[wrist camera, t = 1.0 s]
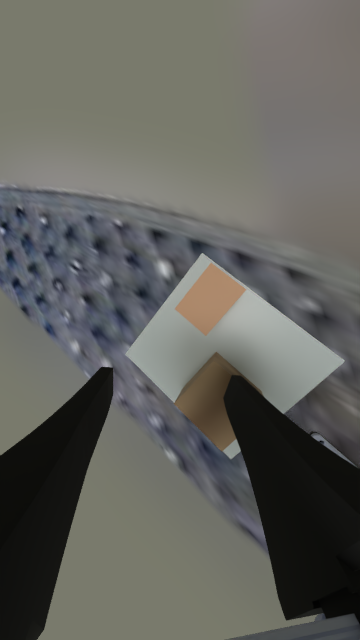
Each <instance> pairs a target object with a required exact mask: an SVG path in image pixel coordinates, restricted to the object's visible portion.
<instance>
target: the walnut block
mask: <svg viewBox="0 0 360 640" xmlns="http://www.w3.org/2000/svg"><path fill="white" fill-rule="evenodd" d="M232 375H241V376H242V377H243V378H244V379H245V380H247V381H248V382H249V383H250V384H251V385H252V386H253V387H254V388H255V389H256V390H257V391H258V392H259V393H260V394H262V391H261V390H260V389H259V388H257V387H256V386H255V385H254V384H253V383H252V382H251V381H249V380H248V379H247V378H246V377H245V376H244V375H243V374H241V373H240V372H239V371H238V370H237V369H236V368H235V367H233V366H232V365H231V364H230V363H229V362H228V361H227V360H225V359H224V358H223V357H222V356H221V355H220V354H218V353H217V352H215V353H214V355H213V356H212V357H211V358H210V359H209V360H208V361H207V362H206V363H205V364H204V365H203V367H202V368H201V369H200V370H199V371H198V372H197V373H196V374H195V375H194V376H193V377H192V379H191V380H190V381H189V382H188V383H187V384H186V385H185V386H184V387H183V389H182V390H181V392H180V394H179V396H178V397H177V399H176V401H175V403H174V404H175V405H176V406H177V407H178V408H179V409H180V410H181V411H182V412H183V413H184V414H185V415H186V416H187V417H188V418H189V419H190V420H191V421H192V422H193V423H194V424H195V425H196V426H197V427H198V428H199V429H200V430H201V431H202V432H203V433H204V434H205V435H206V436H207V437H208V438H209V439H210V440H211V441H212V442H213V443H214V444H215V445H216V446H217V447H218V448H219V449H220V450H221V451H223V450H224V449H225V448H227V447H228V446H229V445H230V444H231V443H232V442H233V441H234V440H236V437H235V434H234V431H233V429H232V426H231V424H230V421H229V418H228V415H227V412H226V408H225V404H224V400H223V397H224V394H225V392H226V389H227V386H228V384H229V381H230V378H231V376H232ZM262 395H263V394H262Z"/></svg>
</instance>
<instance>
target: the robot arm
mask: <svg viewBox="0 0 360 640" xmlns="http://www.w3.org/2000/svg"><path fill="white" fill-rule="evenodd" d="M112 396H113V368H111V367H101V368H100V369H99V370H98V371H97V372H96V373H95V374H94V375H93V376H92V377H91V379H90V380H89V381H88V382H87V383H86V384H85V385H84V386H83V387H82V388H81V389H80V390H79V391H78V392H77V393H76V394H75V395H74V396H73V397H72V398H71V399H70V400H69V401H67V402H66V403H65V404H64V405H63V406H62V407H61V408H60V409H58V410H57V411H56V412H55V413H54V414H53V415H52V416H51V417H49V418H48V419H47V420H46V421H45V422H43V423H42V424H41V425H40V426H38V427H37V428H36V429H35V430H34V431H32V432H31V433H30V434H28V435H27V436H26V437H25V438H23V439H22V440H21V441H19V442H18V443H17V444H15V445H14V446H13V447H11V448H10V449H9V450H7V451H6V452H5V453H4V454H2V455H0V640H37V639H38V637H39V636H40V634H41V633H42V632H43V630H44V627H45V623H46V619H47V615H48V611H49V607H50V604H51V600H52V596H53V592H54V588H55V584H56V580H57V577H58V573H59V569H60V565H61V561H62V557H63V554H64V550H65V547H66V543H67V539H68V535H69V532H70V528H71V524H72V521H73V517H74V514H75V510H76V507H77V503H78V500H79V496H80V493H81V489H82V486H83V482H84V479H85V475H86V472H87V469H88V466H89V463H90V460H91V457H92V455H93V452H94V449H95V447H96V444H97V441H98V438H99V436H100V433H101V431H102V427H103V425H104V423H105V420H106V417H107V414H108V411H109V408H110V404H111V400H112ZM223 400H224V404H225V408H226V412H227V415H228V418H229V421H230V424H231V426H232V429H233V431H234V434H235V437H236V439H237V442H238V445H239V447H240V450H241V452H242V455H243V458H244V461H245V464H246V467H247V470H248V473H249V477H250V480H251V484H252V487H253V491H254V495H255V498H256V502H257V506H258V509H259V513H260V517H261V521H262V526H263V530H264V534H265V538H266V542H267V546H268V551H269V556H270V560H271V565H272V569H273V574H274V578H275V584H276V589H277V594H278V598H279V601H280V604H281V607H282V610H283V613H284V616H285V619H286V620H291V619H296V618H301V617H306V616H311V615H316V614H319V615H317V617H316V618H315V621H314V622H310V623H305V624H300V625H295V626H290V627H285V628H280V629H275V630H270V631H266V632H261V633H256V634H251V635H246V636H241V637H236V638H231V639H227V640H360V469H359V468H358V467H357V466H356V465H354V464H353V463H352V462H351V461H350V460H349V459H347V458H346V457H345V456H344V455H343V454H342V453H341V452H339V451H338V450H337V449H336V448H335V447H334V446H332V445H331V444H330V443H329V442H328V441H327V440H325V439H324V438H323V437H322V436H321V435H320V434H318V433H313V434H311V435H309V434H308V433H306V432H305V431H304V430H303V429H301V428H300V427H299V426H297V425H296V424H295V423H294V422H292V421H291V420H290V419H289V418H288V417H286V416H285V415H284V414H283V413H282V412H280V411H279V410H278V409H277V408H276V407H275V406H274V405H272V404H271V403H270V402H269V401H268V400H267V399H266V398H265V397H264V396H263V395H262V394H260V393H259V392H258V391H257V390H256V389H255V388H254V387H253V386H252V385H251V384H250V383H249V382H248V381H247V380H245V379H244V378H243V377H242V376H241V375H232V376H231V378H230V381H229V384H228V386H227V389H226V392H225V394H224V397H223ZM320 440H322V442H319V441H320ZM322 613H323V614H322Z"/></svg>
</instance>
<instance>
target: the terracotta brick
mask: <svg viewBox="0 0 360 640" xmlns="http://www.w3.org/2000/svg"><path fill="white" fill-rule="evenodd" d="M245 291H246V289H245V288H244V287H242V286H241V285H240V284H238V283H237V282H236V281H235V280H233V279H232V278H231V277H229V276H228V275H227V274H225V273H224V272H223V271H221V270H220V269H219V268H217V267H216V266H215V265H213V264H212V263H210V264H209V266H208V267H207V268H206V270H205V271H204V272H203V273H202V275H201V276H200V277H199V278H198V280H197V281H196V282H195V284H194V285H193V286H192V287H191V289H190V290H189V291H188V292H187V294H186V295H185V296H184V298H183V299H182V300H181V301H180V303H179V304H178V305H177V306H176V308H175V310H176V311H178V312H179V313H180V314H181V315H182V316H183V317H185V318H186V319H187V320H188V321H189V322H190V323H191V324H193V325H194V326H195V327H196V328H197V329H198V330H200V331H201V332H202V333H203V334H204V335H205V336H206V335H207V334H208V333H209V332H210V331H211V330H212V329H213V327H214V326H215V325H216V324H217V323H218V322H219V321H220V319H221V318H222V317H223V316H224V315H225V314H226V313H227V311H228V310H229V309H230V308H231V307H232V306H233V305H234V303H235V302H236V301H237V300H238V299H239V298H240V297H241V295H242V294H243V293H244V292H245Z"/></svg>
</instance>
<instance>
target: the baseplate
mask: <svg viewBox="0 0 360 640" xmlns="http://www.w3.org/2000/svg"><path fill="white" fill-rule="evenodd" d="M210 263H212V264H213V265H215V266H216V267H217V268H219V269H220V270H221V271H223V272H224V273H225V274H227V275H228V276H229V277H231V278H232V279H233V280H235V281H236V282H237V283H238V284H240V285H241V286H242V287H244V288H245V289H246V291H245V292H244V293H243V294H242V295H241V297H240V298H239V299H238V300H237V301H236V302H235V303H234V305H233V306H232V307H231V308H230V309H229V310H228V311H227V313H226V314H225V315H224V316H223V317H222V318H221V319H220V321H219V322H218V323H217V324H216V325H215V326H214V327H213V329H212V330H211V331H210V332H209V333H208V334H207V335H206V336H205V335H204V334H203V333H202V332H201V331H200V330H198V329H197V328H196V327H195V326H194V325H193V324H191V323H190V322H189V321H188V320H187V319H186V318H185V317H183V316H182V315H181V314H180V313H179V312H178V311H176V310H175V308H176V306H177V305H178V304H179V303H180V301H181V300H182V299H183V298H184V296H185V295H186V294H187V292H188V291H189V290H190V289H191V287H192V286H193V285H194V284H195V282H196V281H197V280H198V278H199V277H200V276H201V275H202V273H203V272H204V271H205V270H206V268H207V267H208V266H209V264H210ZM215 352H217V353H218V354H220V355H221V356H222V357H223V358H224V359H225V360H227V361H228V362H229V363H230V364H231V365H232V366H233V367H235V368H236V369H237V370H238V371H239V372H240V373H241V374H243V375H244V376H245V377H246V378H247V379H248V380H249V381H251V382H252V383H253V384H254V385H255V386H256V387H257V388H259V389H260V390H261V391H262V394H263V396H264V397H265V398H266V399H267V400H268V401H269V402H270V403H271V404H272V405H274V406H275V407H276V408H277V409H278V410H279V411H280V412H282V413H283V414H284V413H285V412H287V411H288V410H289V409H290V408H291V407H292V406H294V405H295V404H296V403H297V402H298V401H299V400H301V399H302V398H303V397H304V396H305V395H306V394H308V393H309V392H310V391H311V390H312V389H313V388H314V387H316V386H317V385H318V384H319V383H320V382H321V381H323V380H324V379H325V378H326V377H327V376H328V375H330V374H331V373H332V372H333V371H334V370H335V369H337V368H338V367H339V366H340V365H341V364H342V363H344V362H345V361H344V360H343V359H342V358H340V357H339V356H338V355H336V354H335V353H334V352H332V351H331V350H330V349H328V348H327V347H326V346H324V345H323V344H322V343H321V342H319V341H318V340H317V339H315V338H314V337H313V336H311V335H310V334H309V333H307V332H306V331H305V330H303V329H302V328H301V327H299V326H298V325H297V324H295V323H294V322H293V321H291V320H290V319H289V318H287V317H286V316H285V315H283V314H282V313H281V312H280V311H278V310H277V309H276V308H274V307H273V306H272V305H270V304H269V303H268V302H266V301H265V300H264V299H262V298H261V297H260V296H258V295H257V294H256V293H254V292H253V291H252V290H250V289H249V288H248V287H246V286H245V285H244V284H242V283H241V282H240V281H239V280H237V279H236V278H235V277H233V276H232V275H231V274H229V273H228V272H227V271H225V270H224V269H223V268H221V267H220V266H219V265H217V264H216V263H215V262H213V261H212V260H211V259H209V258H208V257H207V256H205V255H204V254H203V253H202V254H201V255H200V257H199V258H198V259H197V261H196V262H195V263H194V265H193V266H192V267H191V269H190V270H189V271H188V272H187V274H186V275H185V276H184V278H183V279H182V280H181V282H180V283H179V284H178V286H177V287H176V288H175V290H174V291H173V292H172V293H171V295H170V296H169V297H168V299H167V300H166V301H165V303H164V304H163V305H162V307H161V308H160V309H159V311H158V312H157V313H156V315H155V316H154V317H153V318H152V320H151V321H150V322H149V324H148V325H147V326H146V328H145V329H144V330H143V332H142V333H141V334H140V336H139V337H138V338H137V339H136V341H135V342H134V343H133V345H132V346H131V347H130V349H129V350H128V351H127V353H126V355H127V356H128V357H129V358H130V359H131V360H132V361H133V362H134V363H135V364H136V365H137V366H138V367H139V368H140V369H141V370H142V371H143V372H144V373H145V374H146V375H147V376H148V377H149V378H150V379H151V380H152V381H153V382H154V383H155V384H156V385H157V386H158V387H159V388H160V389H161V390H162V391H163V392H164V393H165V394H166V395H167V396H168V397H169V398H170V399H171V400H172V401H173V402H174V403H175V401H176V399H177V397H178V396H179V394H180V392H181V390H182V389H183V387H184V386H185V385H186V384H187V383H188V382H189V381H190V380H191V379H192V377H193V376H194V375H195V374H196V373H197V372H198V371H199V370H200V369H201V368H202V367H203V365H204V364H205V363H206V362H207V361H208V360H209V359H210V358H211V357H212V356H213V355H214V353H215ZM240 451H241V450H240V447H239V445H238V442H237V439H236V440H234V441H233V442H232V443H231V444H230V445H229V446H228V447H227V448H225V449H224V450H223V452H224V453H225V454H226V455H227V456H228V457H229V458H230V459H232V458H233V457H234V456H235V455H237V454H238V453H239V452H240Z"/></svg>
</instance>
